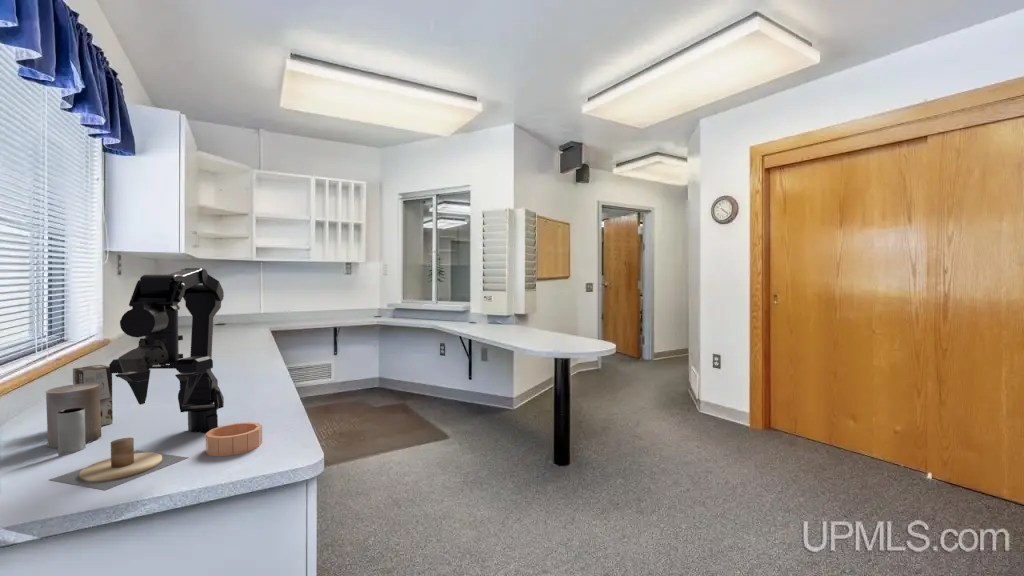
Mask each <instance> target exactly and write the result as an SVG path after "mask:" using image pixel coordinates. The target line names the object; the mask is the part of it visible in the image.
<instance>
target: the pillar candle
mask: <svg viewBox="0 0 1024 576" xmlns="http://www.w3.org/2000/svg"><path fill="white" fill-rule="evenodd" d="M44 392H45V399H46V402H45V403H46V404H45V405H46V406H45V407H46V428H47V429H46V431H47V446H48V447H49V448H51V449H58V419H57V413H58V412H59V411H62V410H66V409H71V408H85V444H88V443H92V442H94V441H97V440H98V439H99V438H101V437H102V426H101V411H100V392H99V384H97V383H84V384H75V382H74V384H73V383H72V384H68V385H67V384H66V385H62V386H57V387H53V388H50V389H48V390H45V391H44Z"/></svg>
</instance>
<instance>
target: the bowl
mask: <svg viewBox="0 0 1024 576" xmlns="http://www.w3.org/2000/svg"><path fill="white" fill-rule="evenodd" d="M262 444H263V425H262V424H261V423H259V422H255V421H253V422H251V421H245V422H235V423H234V422H233V423H230V424H224V425H220V426H218V427H217V428H214V429H211V430H210V431H208V432H207V433H205V452H206V455H207V456H213V457H222V456H223V457H225V456H233V455H239V454H243V453H246V452H250V451H252V450H254V449H257V448H259V447H260V446H261V445H262Z"/></svg>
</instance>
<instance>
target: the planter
mask: <svg viewBox="0 0 1024 576" xmlns="http://www.w3.org/2000/svg"><path fill="white" fill-rule="evenodd" d="M57 419H58V448H57V454H58V455H57V457H61V456H64V455H68V454H73V453H77V452H81V451H83V450H86V444H87V443H85V408H71V409H66V410H62V411H59V412H58V413H57Z"/></svg>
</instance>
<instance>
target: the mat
mask: <svg viewBox="0 0 1024 576" xmlns="http://www.w3.org/2000/svg"><path fill="white" fill-rule="evenodd" d="M147 452H148V451H146V450H145V451H144V450H138V449H136V450H134V453H147ZM149 452H150V453H154V452H153V451H149ZM157 453H158V452H157ZM158 454H161V455H162V462H161V463H160V464H159V465H158V466H156V467H154V468H152V469H150V470H148V471H145V472H143V473H140V474H137V475H133V476H130V477H126V478H121V479H116V480H110V481H102V482H86V481H82V480H81V479H80V477H79V474H80V472H81V471H82V470H83V469H84V468H86V467H87V466H86V467H82V468H79V469H76V470H74V471H71V472H68V473H65V474H62V475H60V476H59V475H58V476H56V477H54V478H50V479H48V481H52V482H56V483H62V484H67V485H72V486H73V485H74V486H80V487H84V488H85V487H86V488H90V489H95V490H101V491H107V490H110V489H112V488H115V487H118V486H121V485H122V484H125V483H128V482H131V481H133V480H135V479H139V478H140V477H143V476H146V475H149V474H151V473H154V472H156V471H160V470H162V469H164V468H167V467H170V466H172V465H174V464H177V463H179V462H182V461H184V460H188V459H189V458H190V457H187V456H181V455H173V454H165V453H158Z"/></svg>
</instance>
